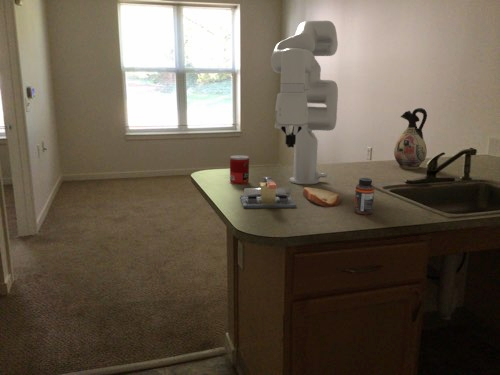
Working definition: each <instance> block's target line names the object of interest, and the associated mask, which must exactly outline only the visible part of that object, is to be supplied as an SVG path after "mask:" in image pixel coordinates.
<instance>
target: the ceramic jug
mask: <svg viewBox="0 0 500 375" xmlns="http://www.w3.org/2000/svg"><path fill="white" fill-rule="evenodd" d="M418 113H421V115H422V120H421V121H420V118H419V116H418V115H417V114H418ZM400 118H402V119H404V120H406V121H408V126H407V127H406V129H405V130H404V131H403V132H402V134H401V135H400V137H399V138H398V140H397V141H396V144H395V146H394V147H395V148H394V150H393V155H394V159H395V161H396V163H397V164H398V166H399V168H400V169H406V170H407V169H408V170H416V169H417V170H418V169H420V165H422V164H423V162H425V160H426V158H427V152H428V151H427V145H426V141H425V139H424V135H423V128H424V125H425V123H426V121H427V118H428V114H427V110H425V109H424V108H422V107H419V108H415V109H414V110H413V111H410V110H407V111H404V112H403V114H401V115H400ZM417 122H421V123H420V124H419V127H418V126H417Z"/></svg>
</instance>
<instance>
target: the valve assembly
mask: <svg viewBox="0 0 500 375" xmlns="http://www.w3.org/2000/svg"><path fill="white" fill-rule="evenodd" d="M258 186H259V187H256V188H255V187H247V188H244V190H243V191H244V192H243V194H239V199H240V201H241V205H242V207H243V209H276V208H277V209H280V208H281V209H285V208H286V209H287V208H294V209H296V208H297V203H296V201H294V200H293V199H292V197H291V194H292V193H291V188H290V187H276V189H269V188H268V186H267V183H266V182H259V185H258Z"/></svg>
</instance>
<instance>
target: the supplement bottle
mask: <svg viewBox="0 0 500 375" xmlns="http://www.w3.org/2000/svg"><path fill="white" fill-rule="evenodd" d="M374 197H375V187H374V186H373V179H371V178H370V177H369V178H368V177H360V178H359V179H358V184H357V185H356V186H355V193H354V203H353V204H354V207H353V211H354V212H355V214H358V215H371V214H372V213H373V208H374Z"/></svg>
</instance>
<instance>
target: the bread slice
mask: <svg viewBox="0 0 500 375" xmlns="http://www.w3.org/2000/svg"><path fill="white" fill-rule="evenodd" d="M301 193H302V195H303V197H305V198H306V200H308V201H310V202H311V203H313V204H316V205H318V206H320V207H326V208H332V207H337V206H338V205H339V204H340V203H341V198H340V195H339V194H338V193H336V192H335V191H329V190H325V189H322V188H316V187H308V186H307V187H304V188H303V190H302V192H301Z"/></svg>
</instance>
